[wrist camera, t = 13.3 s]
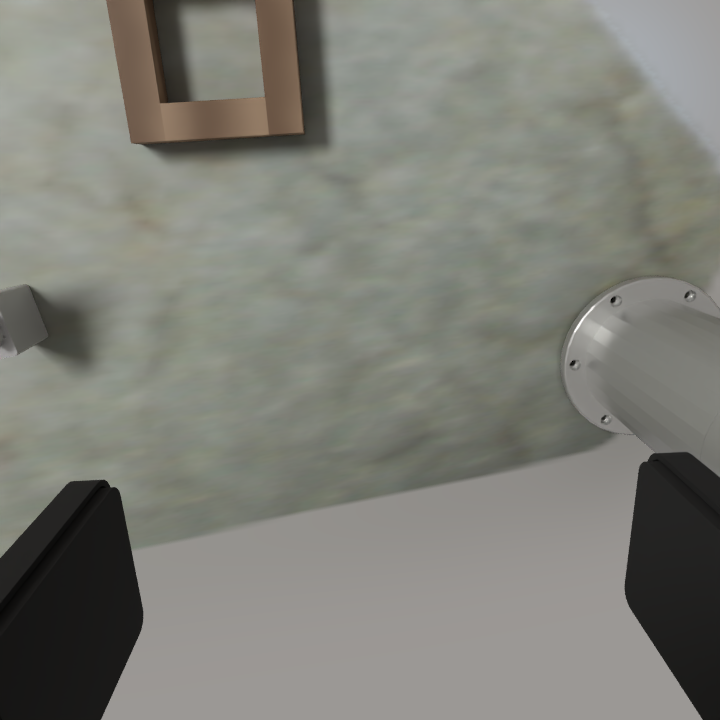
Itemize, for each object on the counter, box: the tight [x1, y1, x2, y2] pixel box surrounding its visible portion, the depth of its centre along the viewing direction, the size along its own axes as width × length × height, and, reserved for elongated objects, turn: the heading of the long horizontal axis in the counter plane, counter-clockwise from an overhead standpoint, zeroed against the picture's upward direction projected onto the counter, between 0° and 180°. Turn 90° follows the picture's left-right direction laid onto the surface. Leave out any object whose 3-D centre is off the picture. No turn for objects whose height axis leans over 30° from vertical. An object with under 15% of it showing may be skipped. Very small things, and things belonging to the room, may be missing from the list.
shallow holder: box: [106, 0, 305, 145], centre depth 36 cm, size 11×11×2 cm
